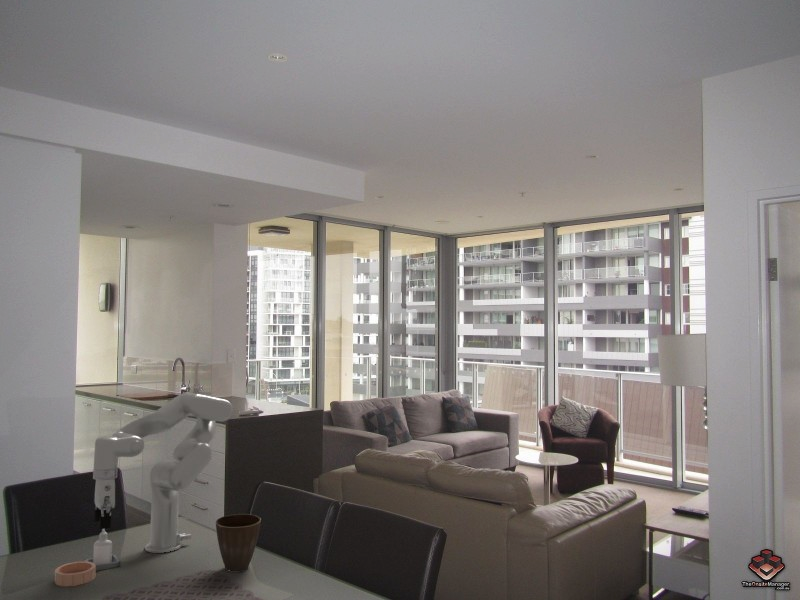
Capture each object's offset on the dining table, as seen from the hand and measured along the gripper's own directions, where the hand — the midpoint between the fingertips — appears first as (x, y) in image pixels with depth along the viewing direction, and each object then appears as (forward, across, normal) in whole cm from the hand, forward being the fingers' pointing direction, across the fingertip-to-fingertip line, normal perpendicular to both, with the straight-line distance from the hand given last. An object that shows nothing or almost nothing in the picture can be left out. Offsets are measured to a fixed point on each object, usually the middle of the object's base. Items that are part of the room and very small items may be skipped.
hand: (102, 524), depth 215 cm
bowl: (+14, -8, +9) cm, 18 cm away
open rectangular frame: (+14, 0, -1) cm, 14 cm away
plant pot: (+13, -27, -38) cm, 48 cm away
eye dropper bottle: (+14, 0, -1) cm, 14 cm away
